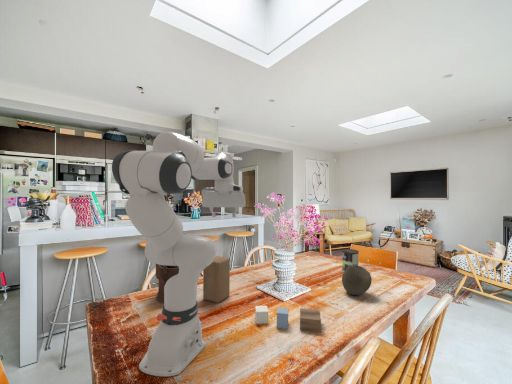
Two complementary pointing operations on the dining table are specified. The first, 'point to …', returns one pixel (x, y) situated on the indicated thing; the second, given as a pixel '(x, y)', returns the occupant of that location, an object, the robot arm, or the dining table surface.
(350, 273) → the dark grey ball
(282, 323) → the blue block
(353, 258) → the coffee can
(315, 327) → the walnut base
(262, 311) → the cream cube
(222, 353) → the dining table surface
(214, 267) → the wooden block
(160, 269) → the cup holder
